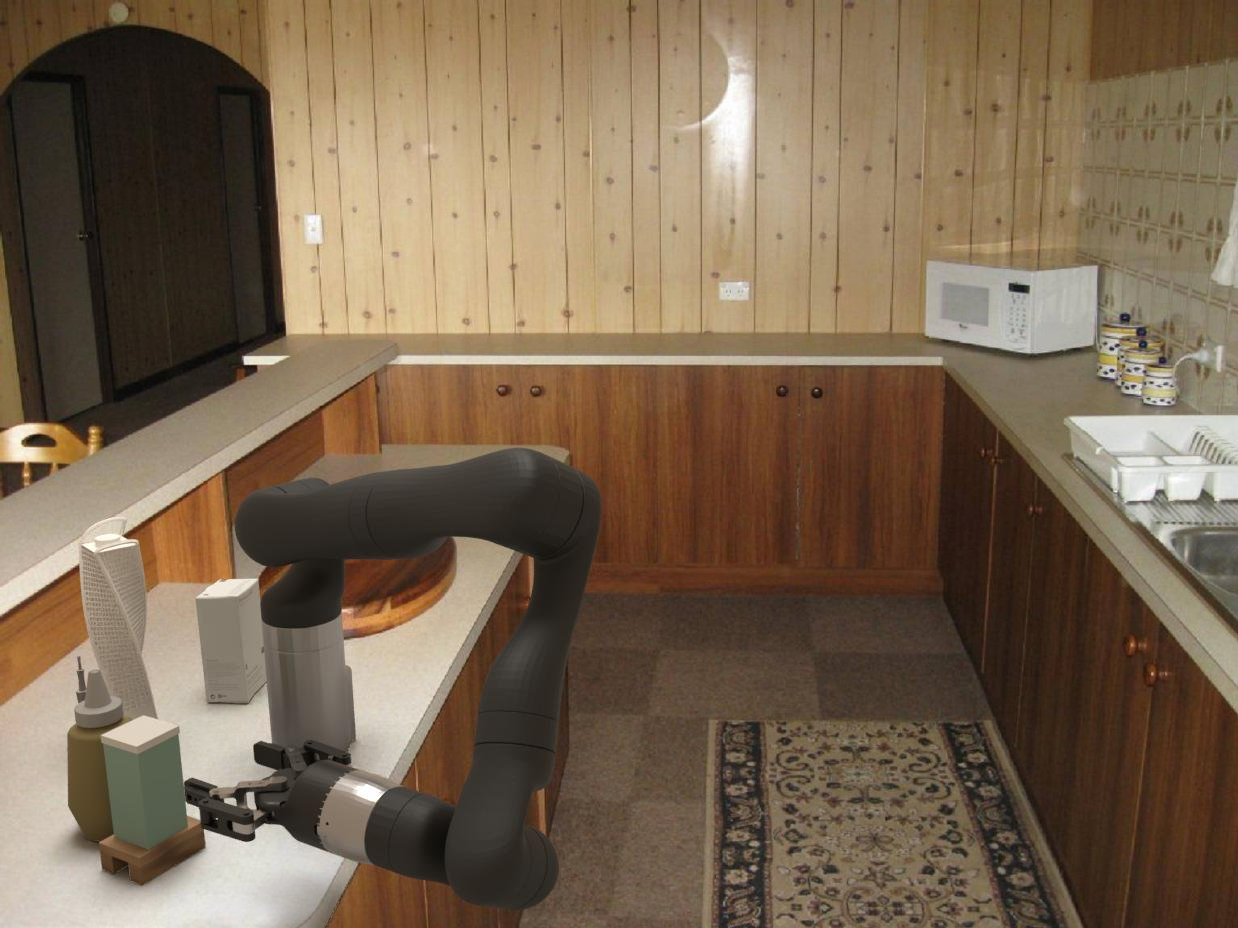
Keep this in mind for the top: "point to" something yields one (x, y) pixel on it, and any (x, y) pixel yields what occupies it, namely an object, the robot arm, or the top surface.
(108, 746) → the tin
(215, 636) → the skincare box
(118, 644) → the skyscraper
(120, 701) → the squeeze bottle
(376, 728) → the top surface
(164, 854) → the brown wooden bridge block
